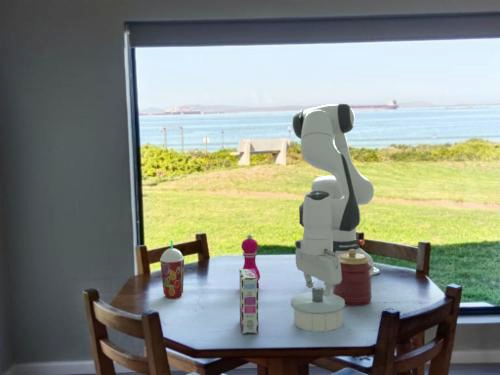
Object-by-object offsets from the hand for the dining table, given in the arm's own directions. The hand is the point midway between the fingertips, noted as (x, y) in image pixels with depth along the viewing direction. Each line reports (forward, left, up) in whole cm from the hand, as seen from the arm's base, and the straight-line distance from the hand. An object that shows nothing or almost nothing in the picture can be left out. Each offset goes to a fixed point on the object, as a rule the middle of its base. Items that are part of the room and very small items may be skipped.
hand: (317, 291), depth 156 cm
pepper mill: (+4, -40, -10) cm, 41 cm away
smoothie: (+32, -44, -10) cm, 55 cm away
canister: (-21, -12, -10) cm, 26 cm away
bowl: (0, 0, -10) cm, 10 cm away
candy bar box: (+20, -6, -10) cm, 23 cm away
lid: (0, 0, -4) cm, 4 cm away
